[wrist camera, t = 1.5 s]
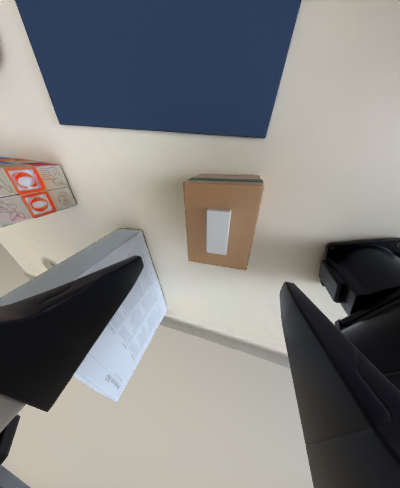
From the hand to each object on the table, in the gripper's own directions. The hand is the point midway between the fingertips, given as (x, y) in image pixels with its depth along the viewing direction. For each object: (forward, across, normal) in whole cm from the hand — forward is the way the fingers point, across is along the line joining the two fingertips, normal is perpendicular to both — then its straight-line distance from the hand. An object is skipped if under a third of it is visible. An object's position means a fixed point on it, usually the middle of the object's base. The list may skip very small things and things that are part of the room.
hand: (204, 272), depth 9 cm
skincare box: (+11, +15, +15) cm, 24 cm away
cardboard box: (+11, 0, 0) cm, 11 cm away
